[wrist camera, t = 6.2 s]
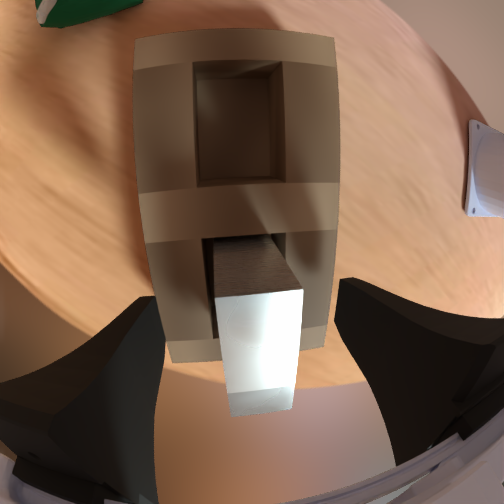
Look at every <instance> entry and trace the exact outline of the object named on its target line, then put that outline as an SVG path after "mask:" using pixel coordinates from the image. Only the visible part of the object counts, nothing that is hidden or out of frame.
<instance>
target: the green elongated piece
mask: <svg viewBox="0 0 504 504" xmlns="http://www.w3.org/2000/svg"><path fill="white" fill-rule="evenodd" d="M140 3H143V0H35V4H36V8H37V13H36V18H37V21H38V23H39V24H40V26H41V27H57V28H64V27H67V26H72V25H76V24H80V23H84V22H87V21H90V20H93V19H97V18H100V17H103V16H107V15H110V14H113V13H116V12H118V11H121V10H124V9H126V8H129V7H132V6H135V5H138V4H140Z"/></svg>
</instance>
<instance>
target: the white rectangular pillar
mask: <svg viewBox="0 0 504 504" xmlns="http://www.w3.org/2000/svg"><path fill="white" fill-rule="evenodd" d="M213 241H214V291H215V305H216V313H217V322H218V330H219V338H220V345H221V353H222V360H223V367H224V374H225V381H226V387H227V394H228V400H229V406H230V412H231V417H236V416H245V415H254V414H262V413H269V412H275V411H282V410H288V409H292V402H293V394H294V386H295V378H296V369H297V359H298V350H299V339H300V328H301V316H302V302H303V288H302V286H301V285H300V283H299V281H298V280H297V278H296V277H295V275H294V273H293V272H292V270H291V269H290V267H289V265H288V264H287V262H286V261H285V259H284V257H283V256H282V254H281V253H280V251H279V250H278V248H277V246H276V245H275V243H274V242H273V240H272V239H271V237H270V236H269V234H255V235H241V236H228V237H215V238H213Z"/></svg>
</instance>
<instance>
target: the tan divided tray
mask: <svg viewBox="0 0 504 504" xmlns="http://www.w3.org/2000/svg"><path fill="white" fill-rule="evenodd" d="M133 134H134V152H135V166H136V178H137V188H138V197H139V205H140V213H141V221H142V228H143V234H144V241H145V247H146V252H147V258H148V264H149V269H150V274H151V279H152V284H153V289H154V293H155V296H156V300H157V305H158V309H159V313H160V318H161V322H162V326H163V330H164V333H165V337H166V342H167V346H168V350H169V353H170V357H171V360H172V363H189V362H207V361H221V360H222V353H221V345H220V338H219V330H218V322H217V313H216V305H215V291H214V241H213V238H215V237H228V236H241V235H255V234H269V236H270V237H271V239H272V240H273V242H274V243H275V245H276V246H277V248H278V250H279V251H280V253H281V254H282V256H283V257H284V259H285V261H286V262H287V264H288V265H289V267H290V269H291V270H292V272H293V273H294V275H295V277H296V278H297V280H298V281H299V283H300V285H301V286H302V288H303V302H302V316H301V328H300V339H299V350H298V351H302V350H308V349H314V348H320V347H324V342H325V336H326V330H327V323H328V316H329V309H330V301H331V293H332V285H333V276H334V266H335V255H336V243H337V230H338V214H339V192H340V110H339V90H338V75H337V62H336V52H335V42H334V38H333V37H327V36H322V35H316V34H309V33H302V32H293V31H284V30H271V29H249V28H226V29H204V30H191V31H182V32H173V33H166V34H160V35H154V36H148V37H143V38H138V39H135V47H134V64H133Z"/></svg>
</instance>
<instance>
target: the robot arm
mask: <svg viewBox="0 0 504 504" xmlns="http://www.w3.org/2000/svg"><path fill="white" fill-rule="evenodd" d="M465 214H466V215H467V216H480V217H501V218H503V219H504V134H503V133H501V132H499V131H497V130H495V129H493V128H491V127H489V126H487V125H485V124H483V123H481V122H479V121H477V120H474V119H470V121H469V169H468V184H467V194H466V203H465ZM334 322H335V324H336V327H337V329H338V332H339V334H340V336H341V338H342V340H343V342H344V344H345V345H346V347H347V349H348V350H349V352H350V354H351V355H352V357H353V358H354V360H355V362H356V363H357V365H358V366H359V368H360V370H361V371H362V373H363V375H364V376H365V378H366V380H367V381H368V383H369V385H370V387H371V389H372V392H373V394H374V396H375V398H376V401H377V403H378V406H379V409H380V411H381V414H382V417H383V419H384V422H385V425H386V428H387V432H388V435H389V438H390V441H391V445H392V449H393V454H394V458H395V463H396V467H395V468H393V469H390V470H388V471H386V472H384V473H381V474H379V475H377V476H374V477H372V478H369V479H366V480H364V481H361V482H358V483H356V484H353V485H350V486H347V487H344V488H341V489H338V490H334V491H331V492H327V493H324V494H320V495H316V496H312V497H308V498H304V499H299V500H295V501H290V502H285V503H279V504H366V503H368V502H371V501H373V500H376V499H378V498H380V497H383V496H385V495H387V494H389V493H391V492H393V491H396V490H398V489H400V488H402V487H404V486H406V485H407V484H409V483H411V482H413V481H415V480H417V479H419V478H420V477H422V476H424V475H426V474H427V473H429V472H430V473H429V474H428V475H427V476H425V477H424V478H422V479H421V480H419V481H417V482H416V483H414V484H413V485H411V487H410V488H409V489H407V490H406V491H405V492H404V493H402V494H401V495H399V496H398V497H396V498H395V499H393V500H391V501H390V502H388V503H387V504H504V487H503V485H502V482H503V481H504V318H503V319H502V318H478V317H469V316H463V315H458V314H453V313H448V312H444V311H440V310H436V309H433V308H430V307H426V306H423V305H420V304H418V303H415V302H412V301H410V300H407V299H405V298H402V297H400V296H397V295H395V294H393V293H390V292H388V291H386V290H384V289H381V288H379V287H377V286H375V285H372V284H370V283H368V282H365V281H363V280H360V279H357V278H354V277H352V278H344V279H340V282H339V289H338V297H337V304H336V311H335V317H334ZM165 343H166V337H165V333H164V330H163V326H162V322H161V318H160V313H159V309H158V305H157V300H156V296H143V297H139V298H138V299H137V300H135V301H134V302H133V303H132V304H131V305H130V306H129V307H127V308H126V309H125V310H124V311H123V312H122V313H121V314H120V315H119V316H117V317H116V318H115V319H114V320H113V321H112V322H111V323H110V324H108V325H107V326H106V327H105V328H103V329H102V330H101V331H100V332H99V333H97V334H96V335H95V336H94V337H92V338H91V339H90V340H88V341H87V342H86V343H84V344H83V345H81V346H80V347H79V348H77V349H75V350H74V351H72V352H71V353H69V354H68V355H66V356H64V357H62V358H60V359H58V360H57V361H55V362H53V363H52V364H49V365H47V366H46V367H43V368H41V369H39V370H37V371H35V372H32V373H29V374H27V375H24V376H21V377H18V378H15V379H12V380H9V381H5V382H2V383H0V440H1V441H2V442H3V443H4V444H5V445H6V446H7V447H8V448H9V449H10V450H11V451H13V452H14V453H15V454H16V455H17V459H16V462H14V461H13V460H11V459H10V458H8V457H6V456H5V455H3V454H1V453H0V504H159V502H158V496H157V488H156V480H155V466H154V414H155V406H156V401H157V395H158V390H159V385H160V379H161V374H162V369H163V364H164V357H165Z"/></svg>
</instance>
